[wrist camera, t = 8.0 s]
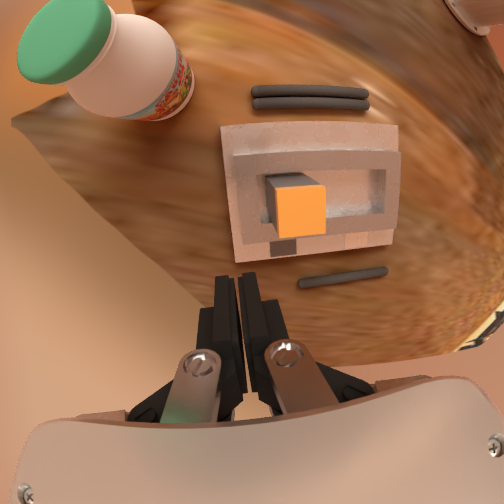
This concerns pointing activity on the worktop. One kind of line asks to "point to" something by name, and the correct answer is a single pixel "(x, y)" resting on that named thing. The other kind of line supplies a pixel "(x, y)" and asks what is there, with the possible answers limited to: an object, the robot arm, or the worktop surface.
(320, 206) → the block
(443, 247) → the worktop surface
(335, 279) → the cord
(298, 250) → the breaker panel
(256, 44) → the worktop surface
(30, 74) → the milk bottle
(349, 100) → the cord
